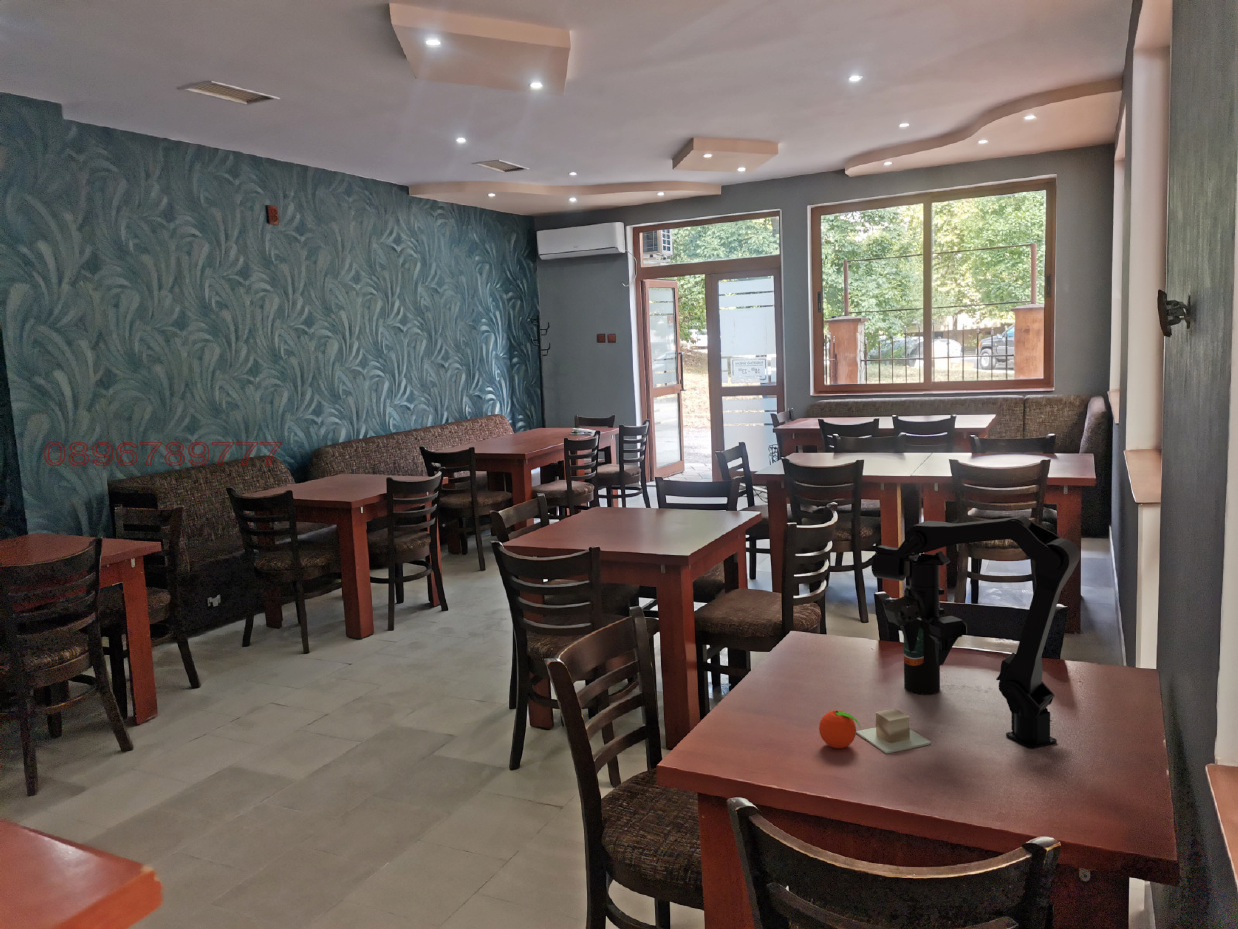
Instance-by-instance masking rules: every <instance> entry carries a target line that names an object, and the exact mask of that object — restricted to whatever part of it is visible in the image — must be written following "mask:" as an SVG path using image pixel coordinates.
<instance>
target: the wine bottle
mask: <svg viewBox="0 0 1238 929" xmlns="http://www.w3.org/2000/svg"><path fill="white" fill-rule="evenodd" d="M919 555H920V554H915V555H914V556H918V557H919ZM929 634H932V633H931V631H930V629H929V624H928V623H926V622H923V621H921V622H920V627H919V632H918V637H917V642H916V646H915V650H914V651H913V652H910V651H909V650H908V647H907V644H906V642H905V639H904V638H903V678H904V680H903V681H904V682H903V685H904V687H903V688H904V690H905V691H906V692H908V693H912V694H915V695H919V696H920V695H921V696H922V695H923V696H930V695H935V694H939V692H940V691H941V665H937V660H936V650H935V641H934V640H933V639H932V638H931V637H930V636H929Z"/></svg>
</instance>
